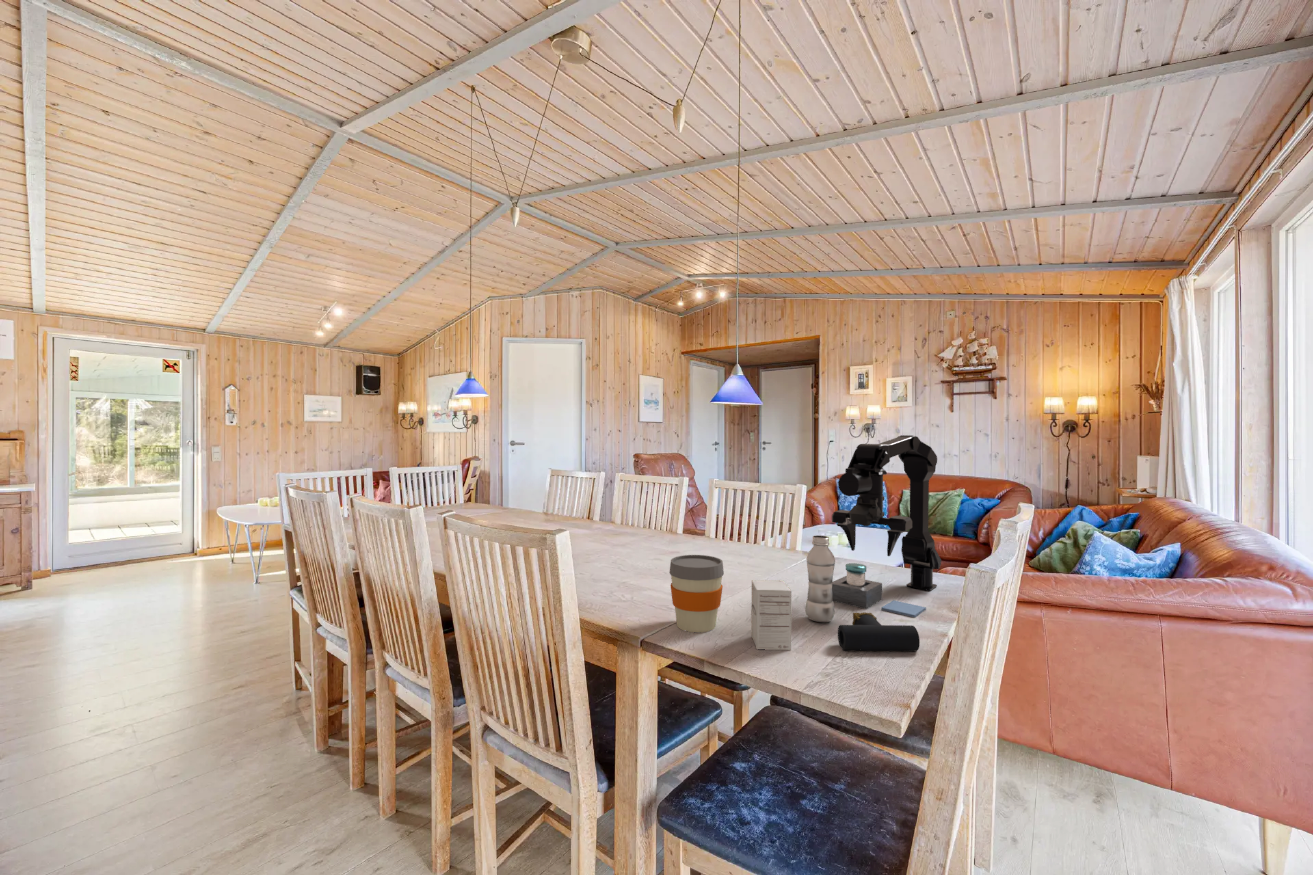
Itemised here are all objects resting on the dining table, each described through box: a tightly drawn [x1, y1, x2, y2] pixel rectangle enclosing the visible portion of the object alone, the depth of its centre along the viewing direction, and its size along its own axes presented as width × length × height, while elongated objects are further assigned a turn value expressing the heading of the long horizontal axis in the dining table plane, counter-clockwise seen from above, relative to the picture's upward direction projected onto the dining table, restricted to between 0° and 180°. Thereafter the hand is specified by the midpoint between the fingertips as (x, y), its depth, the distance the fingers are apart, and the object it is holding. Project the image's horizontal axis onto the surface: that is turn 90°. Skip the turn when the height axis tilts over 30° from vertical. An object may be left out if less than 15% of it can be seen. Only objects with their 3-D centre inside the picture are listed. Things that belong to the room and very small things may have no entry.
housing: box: [832, 575, 883, 610], centre depth 144 cm, size 10×10×4 cm
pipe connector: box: [837, 612, 921, 652], centre depth 116 cm, size 12×5×15 cm
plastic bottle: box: [804, 534, 836, 623], centre depth 128 cm, size 6×7×20 cm
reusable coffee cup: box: [669, 554, 725, 633], centre depth 125 cm, size 13×13×15 cm
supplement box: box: [750, 579, 792, 651], centre depth 115 cm, size 7×7×13 cm
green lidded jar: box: [845, 562, 867, 588], centre depth 144 cm, size 5×5×9 cm
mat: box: [881, 600, 927, 619], centre depth 136 cm, size 8×8×1 cm
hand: (870, 553), depth 139 cm, fingers open, 9 cm apart
